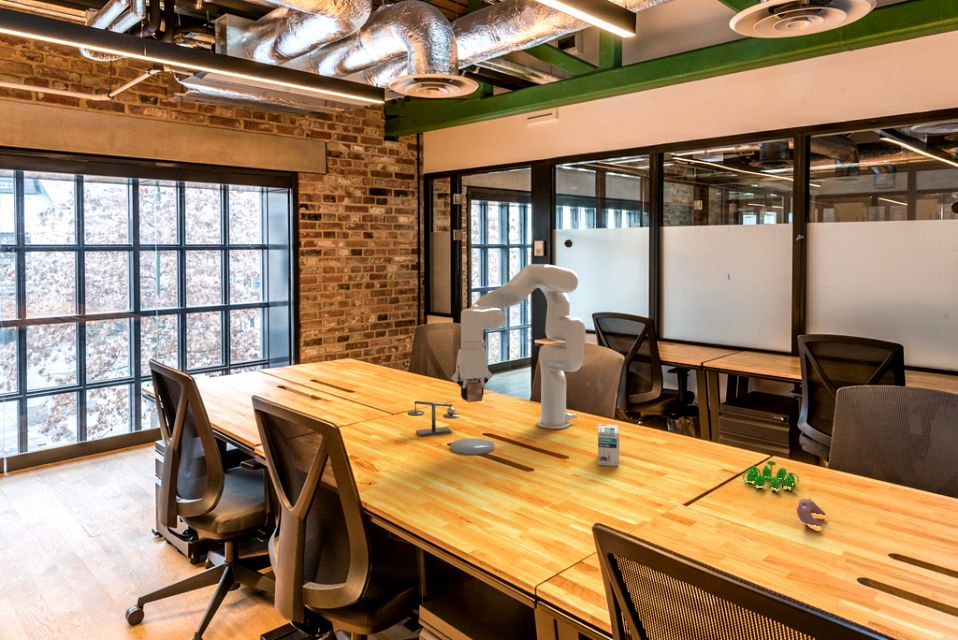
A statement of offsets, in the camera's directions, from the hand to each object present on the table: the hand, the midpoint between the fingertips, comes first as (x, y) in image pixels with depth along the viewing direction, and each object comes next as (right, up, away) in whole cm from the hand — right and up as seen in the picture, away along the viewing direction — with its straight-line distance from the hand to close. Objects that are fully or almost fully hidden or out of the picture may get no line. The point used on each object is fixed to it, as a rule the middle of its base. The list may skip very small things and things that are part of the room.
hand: (472, 397), depth 229 cm
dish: (0, -17, +2) cm, 18 cm away
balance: (-15, -15, +21) cm, 29 cm away
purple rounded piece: (+85, -25, -61) cm, 108 cm away
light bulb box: (+44, -19, -12) cm, 49 cm away
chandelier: (+86, -22, -34) cm, 96 cm away
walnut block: (0, -1, 0) cm, 1 cm away
